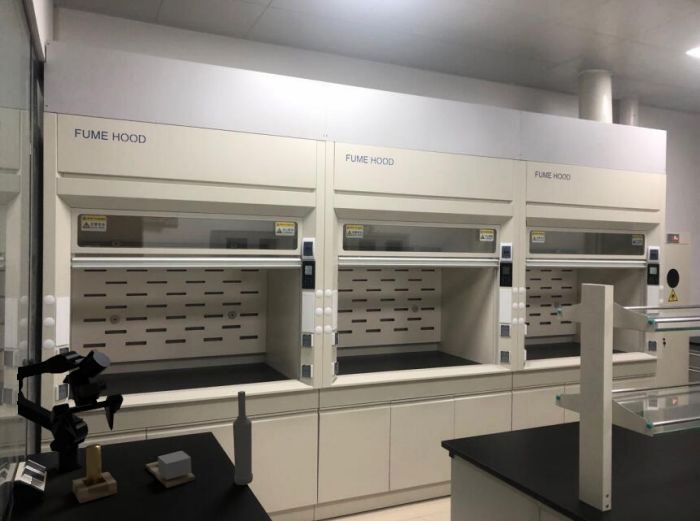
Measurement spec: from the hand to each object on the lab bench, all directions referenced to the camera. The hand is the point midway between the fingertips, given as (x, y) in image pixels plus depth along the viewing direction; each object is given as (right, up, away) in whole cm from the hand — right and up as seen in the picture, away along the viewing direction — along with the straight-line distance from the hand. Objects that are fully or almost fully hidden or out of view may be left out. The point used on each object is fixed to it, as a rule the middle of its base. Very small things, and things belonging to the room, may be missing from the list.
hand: (95, 433), depth 152 cm
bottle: (+42, -13, -2) cm, 44 cm away
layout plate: (+20, -13, +4) cm, 24 cm away
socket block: (+3, -14, -7) cm, 16 cm away
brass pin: (+3, -14, -7) cm, 16 cm away
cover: (+22, -11, +1) cm, 25 cm away
